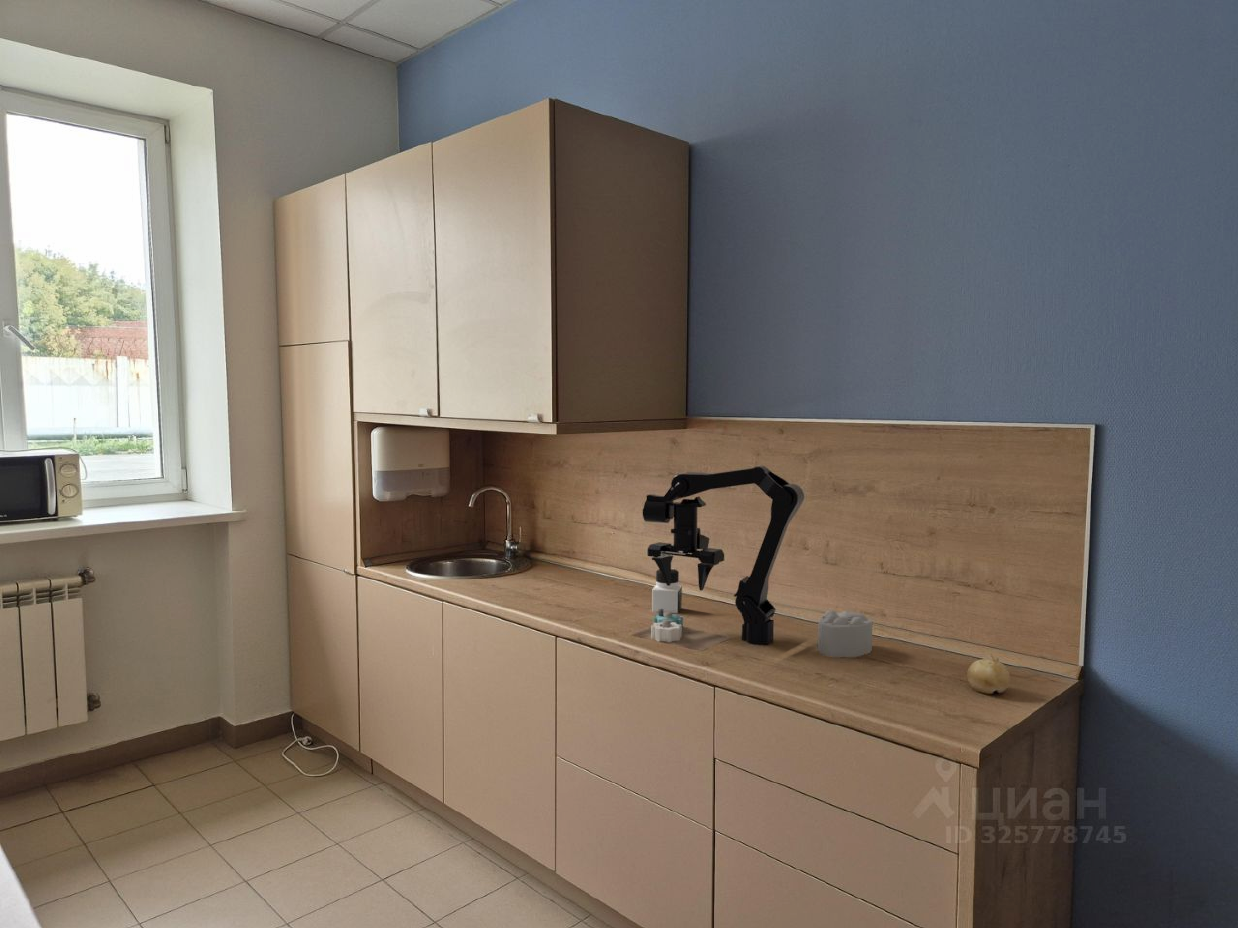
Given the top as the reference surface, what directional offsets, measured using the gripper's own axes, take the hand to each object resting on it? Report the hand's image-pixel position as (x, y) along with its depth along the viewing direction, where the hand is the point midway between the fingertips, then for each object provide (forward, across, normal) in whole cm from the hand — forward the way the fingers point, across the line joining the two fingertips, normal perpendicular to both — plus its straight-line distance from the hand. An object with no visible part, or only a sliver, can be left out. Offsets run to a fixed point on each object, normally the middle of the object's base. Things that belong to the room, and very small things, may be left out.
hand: (684, 587), depth 208 cm
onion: (+13, -69, -2) cm, 70 cm away
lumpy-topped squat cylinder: (+12, -36, -11) cm, 40 cm away
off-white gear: (+11, +1, +8) cm, 13 cm away
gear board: (+12, -1, +4) cm, 13 cm away
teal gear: (+11, +4, +1) cm, 12 cm away
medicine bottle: (+12, +15, -16) cm, 25 cm away
